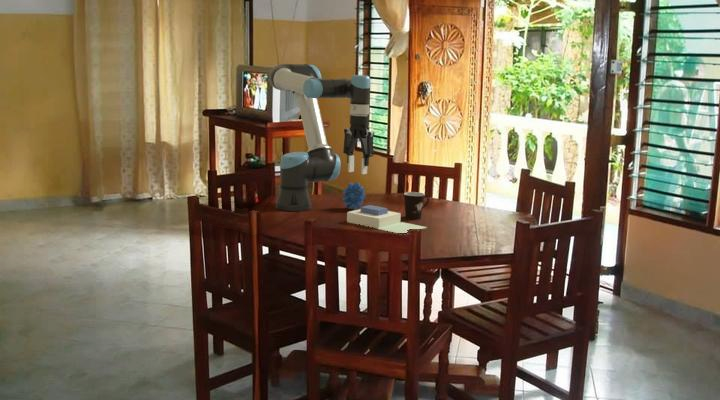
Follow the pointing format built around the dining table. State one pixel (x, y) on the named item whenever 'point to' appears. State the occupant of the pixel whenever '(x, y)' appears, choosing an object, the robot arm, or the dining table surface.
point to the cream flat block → (373, 219)
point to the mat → (401, 227)
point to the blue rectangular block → (374, 210)
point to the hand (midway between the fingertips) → (357, 172)
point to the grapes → (354, 195)
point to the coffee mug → (414, 204)
